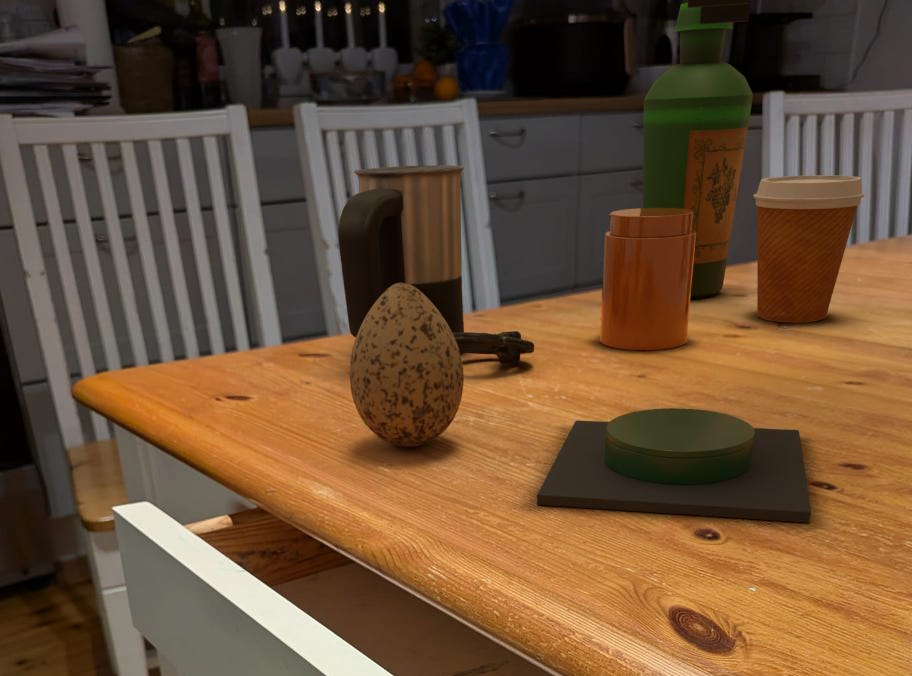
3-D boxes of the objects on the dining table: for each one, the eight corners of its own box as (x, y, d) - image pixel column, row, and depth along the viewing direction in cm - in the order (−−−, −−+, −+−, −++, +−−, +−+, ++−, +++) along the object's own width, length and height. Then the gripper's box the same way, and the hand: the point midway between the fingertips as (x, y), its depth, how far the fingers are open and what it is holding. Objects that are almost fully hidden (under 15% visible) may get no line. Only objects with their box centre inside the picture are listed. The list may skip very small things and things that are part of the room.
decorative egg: (456, 463, 58) (451, 292, 54) (343, 461, 60) (328, 294, 55) (472, 428, 65) (469, 272, 60) (369, 427, 66) (358, 274, 61)
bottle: (728, 303, 99) (763, -24, 86) (625, 301, 102) (642, -14, 89) (734, 285, 108) (767, -14, 94) (639, 284, 111) (657, -5, 97)
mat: (797, 439, 60) (799, 429, 60) (809, 523, 48) (811, 512, 48) (575, 428, 64) (575, 420, 63) (536, 505, 52) (536, 494, 52)
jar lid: (575, 464, 56) (576, 432, 55) (653, 430, 61) (655, 400, 60) (702, 495, 51) (706, 461, 50) (776, 455, 56) (781, 423, 55)
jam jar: (688, 332, 88) (699, 206, 83) (684, 351, 82) (696, 216, 76) (605, 331, 90) (611, 207, 85) (594, 349, 84) (600, 217, 78)
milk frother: (380, 338, 91) (368, 164, 84) (546, 339, 88) (549, 158, 80) (337, 376, 79) (319, 177, 71) (528, 379, 76) (530, 170, 68)
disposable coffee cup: (864, 322, 89) (889, 179, 83) (767, 329, 88) (786, 185, 82) (812, 304, 97) (831, 173, 91) (723, 310, 96) (737, 178, 90)
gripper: (697, -440, 51) (665, 31, 61) (662, -804, 30) (622, 1, 41) (848, -468, 49) (788, 23, 59) (922, -877, 28) (810, -12, 39)
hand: (721, 16), depth 50 cm, fingers open, 13 cm apart
